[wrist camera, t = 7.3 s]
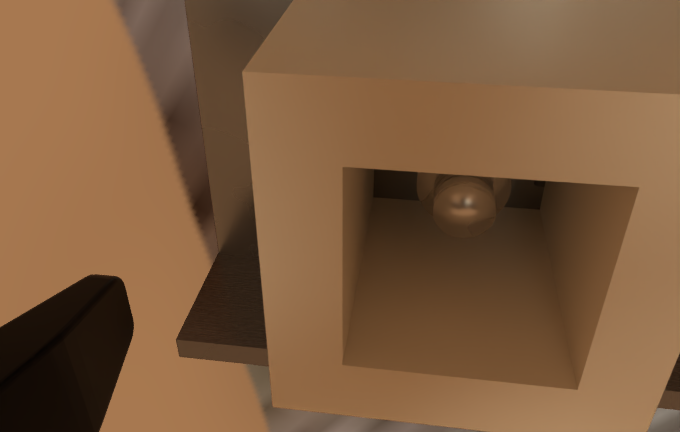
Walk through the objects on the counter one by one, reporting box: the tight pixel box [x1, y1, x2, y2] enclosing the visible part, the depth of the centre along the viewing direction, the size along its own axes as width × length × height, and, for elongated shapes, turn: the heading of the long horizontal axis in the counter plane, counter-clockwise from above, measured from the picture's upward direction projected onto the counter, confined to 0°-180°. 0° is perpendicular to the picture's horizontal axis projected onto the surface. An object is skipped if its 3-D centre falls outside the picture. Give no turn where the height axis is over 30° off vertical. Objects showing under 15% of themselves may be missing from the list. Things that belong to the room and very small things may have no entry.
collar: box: [242, 0, 680, 432], centre depth 11 cm, size 6×6×5 cm
